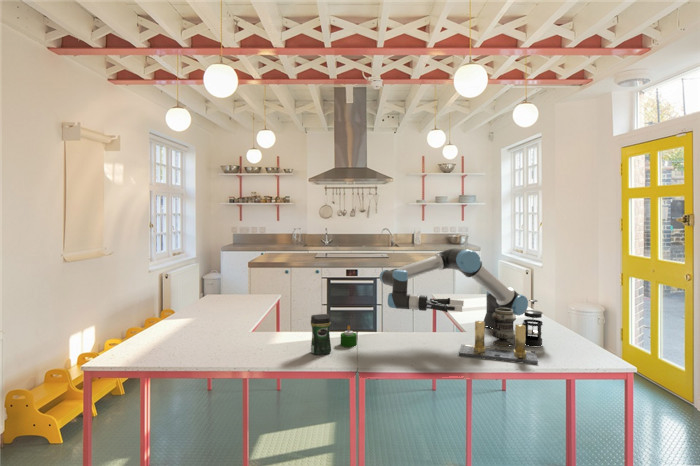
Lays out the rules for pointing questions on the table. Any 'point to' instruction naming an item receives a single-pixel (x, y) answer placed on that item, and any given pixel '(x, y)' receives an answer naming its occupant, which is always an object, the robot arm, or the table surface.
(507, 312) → the grey brown stone vase
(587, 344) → the table surface
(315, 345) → the coffee jar
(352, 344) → the candle
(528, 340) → the french press
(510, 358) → the bolt plate
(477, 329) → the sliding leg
